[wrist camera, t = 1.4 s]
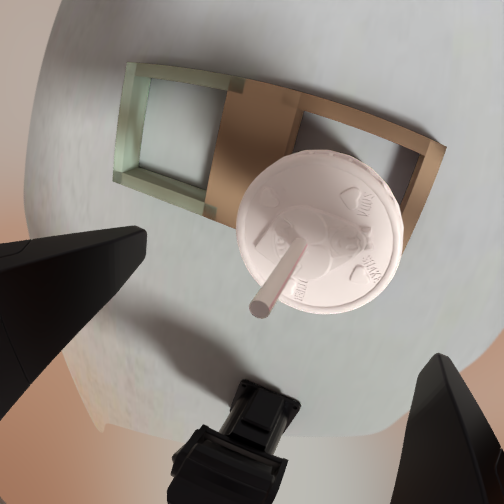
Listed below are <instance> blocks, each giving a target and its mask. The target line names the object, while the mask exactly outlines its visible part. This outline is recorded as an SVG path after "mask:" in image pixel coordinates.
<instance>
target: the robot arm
mask: <svg viewBox="0 0 504 504" xmlns="http://www.w3.org/2000/svg"><path fill="white" fill-rule="evenodd" d="M146 246H147V232H146V231H145V230H144V229H142V228H140V227H138V226H126V227H118V228H110V229H102V230H94V231H87V232H79V233H72V234H65V235H58V236H51V237H44V238H37V239H33V240H31V239H30V240H24V241H17V242H10V243H2V244H0V421H1V419H2V418H3V417H4V416H5V414H6V413H7V412H8V411H9V410H10V408H11V407H12V406H13V405H14V404H15V402H16V401H17V400H18V399H19V398H20V397H21V395H22V394H23V393H24V392H25V391H26V390H27V388H28V387H29V386H30V384H32V382H33V381H34V380H35V379H36V378H37V377H38V376H39V375H40V374H41V372H42V371H43V370H44V369H45V368H46V367H47V365H49V364H50V362H51V361H52V360H53V359H54V358H55V357H56V356H57V355H58V354H59V353H60V352H61V350H62V349H63V348H64V347H65V346H66V345H67V344H68V343H69V342H70V341H71V340H72V339H73V338H74V337H75V335H76V334H77V333H78V332H79V331H80V330H81V329H82V328H83V327H84V326H85V325H86V324H87V323H88V322H89V321H90V320H91V319H92V318H93V317H94V316H95V315H96V314H97V313H98V312H99V311H100V310H101V309H102V308H103V306H104V305H105V304H106V303H107V302H108V301H109V300H110V299H111V298H112V297H113V296H114V295H115V294H116V293H117V292H118V291H119V290H120V288H121V287H122V286H123V285H124V283H125V282H126V281H127V280H128V279H129V277H130V276H131V275H132V274H133V272H134V271H135V270H136V269H137V268H138V266H139V265H140V264H141V263H142V262H143V260H144V258H145V256H146ZM300 407H301V404H300V403H298V402H296V401H293V400H291V399H288V398H286V397H284V396H281V395H279V394H277V393H274V392H272V391H270V390H267V389H265V388H263V387H261V386H258V385H256V384H254V383H252V382H249V381H247V380H241V382H240V384H239V386H238V389H237V392H236V395H235V397H234V400H233V403H232V406H231V408H230V414H229V416H228V417H227V419H226V421H225V422H224V424H223V426H222V427H221V429H220V431H219V432H217V431H215V430H213V429H211V428H209V427H208V426H206V425H204V424H203V425H202V427H201V428H200V429H197V430H195V432H194V433H193V435H192V436H191V438H190V439H189V440H188V442H187V443H186V444H185V445H184V446H182V447H181V448H180V449H179V450H178V451H177V452H176V453H175V454H174V455H173V456H172V461H173V467H172V471H171V476H173V477H174V479H173V480H172V482H171V484H170V485H169V487H168V490H167V502H168V504H272V503H273V501H274V499H275V497H276V494H277V492H278V490H279V486H280V484H281V481H282V478H283V475H284V472H285V469H286V466H287V463H288V460H287V459H285V458H283V459H282V458H279V457H276V456H274V455H273V454H274V452H275V450H276V447H277V445H278V443H279V440H280V438H281V436H282V434H283V433H284V432H285V430H286V429H287V427H288V426H289V425H290V423H291V422H292V420H293V419H294V417H295V416H296V414H297V413H298V411H299V410H300ZM500 448H501V446H500V444H499V442H498V440H497V438H496V436H495V434H494V432H493V430H492V429H491V427H490V425H489V423H488V421H487V420H486V418H485V416H484V414H483V412H482V411H481V409H480V407H479V405H478V404H477V402H476V400H475V399H474V397H473V395H472V393H471V392H470V390H469V388H468V387H467V385H466V383H465V382H464V380H463V379H462V377H461V375H460V374H459V372H458V370H457V369H456V367H455V366H454V364H453V363H452V361H451V359H450V358H449V357H448V356H445V355H443V354H440V353H436V354H435V355H434V356H433V357H432V358H431V359H430V360H429V362H428V363H427V364H426V365H425V367H424V368H423V369H422V370H421V372H420V373H419V375H418V378H417V383H416V387H415V392H414V396H413V400H412V405H411V409H410V413H409V417H408V421H407V426H406V431H405V437H404V443H403V448H402V454H401V459H400V465H399V469H398V474H397V478H396V482H395V487H394V491H393V495H392V499H391V502H390V504H504V451H503V449H500ZM0 504H6V503H5V502H4V501H3V500H2V499H1V497H0Z"/></svg>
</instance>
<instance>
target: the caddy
mask: <svg viewBox="0 0 504 504" xmlns="http://www.w3.org/2000/svg"><path fill="white" fill-rule="evenodd" d="M151 78H156V79H164V80H170V81H177V82H183V83H189V84H195V85H200V86H206V87H211V88H216V89H221V90H226V91H227V96H226V100H225V104H224V109H223V113H222V118H221V122H220V127H219V132H218V137H217V141H216V146H215V151H214V156H213V161H212V166H211V171H210V176H209V181H208V187H207V191H206V190H203V189H200V188H197V187H194V186H191V185H189V184H186V183H183V182H180V181H177V180H174V179H171V178H169V177H166V176H163V175H160V174H157V173H154V172H151V171H148V170H145V169H142V168H139V167H138V165H139V156H140V148H141V140H142V133H143V125H144V119H145V112H146V106H147V100H148V94H149V88H150V82H151ZM304 111H307V112H310V113H314V114H317V115H320V116H323V117H326V118H329V119H332V120H335V121H338V122H341V123H344V124H347V125H350V126H353V127H355V128H358V129H361V130H364V131H366V132H369V133H371V134H374V135H377V136H379V137H382V138H384V139H387V140H389V141H392V142H394V143H397V144H399V145H401V146H404V147H406V148H408V149H411V150H413V151H415V152H418V153H420V155H419V158H418V161H417V164H416V166H415V169H414V172H413V174H412V177H411V180H410V182H409V185H408V187H407V190H406V192H405V195H404V198H403V200H402V202H401V205H400V212H401V216H402V221H403V226H404V231H403V247H402V253H403V251H404V249H405V247H406V245H407V243H408V241H409V239H410V237H411V234H412V232H413V230H414V228H415V226H416V223H417V221H418V219H419V217H420V214H421V212H422V210H423V207H424V205H425V203H426V200H427V198H428V195H429V193H430V190H431V188H432V185H433V183H434V180H435V178H436V175H437V173H438V170H439V167H440V165H441V162H442V159H443V156H444V154H445V151H446V148H447V147H446V146H444V145H442V144H440V143H438V142H436V141H434V140H432V139H429V138H427V137H425V136H423V135H420V134H418V133H416V132H414V131H411V130H409V129H407V128H404V127H402V126H399V125H397V124H394V123H392V122H389V121H387V120H384V119H382V118H379V117H377V116H374V115H371V114H369V113H366V112H363V111H360V110H357V109H354V108H352V107H349V106H346V105H343V104H340V103H337V102H333V101H330V100H327V99H324V98H321V97H317V96H314V95H310V94H307V93H303V92H300V91H296V90H293V89H289V88H285V87H281V86H277V85H273V84H269V83H265V82H260V81H256V80H251V79H247V78H242V77H237V76H232V75H226V74H221V73H215V72H209V71H203V70H197V69H190V68H183V67H175V66H167V65H158V64H147V63H134V62H127V66H126V71H125V77H124V83H123V89H122V95H121V102H120V109H119V117H118V125H117V134H116V144H115V154H114V167H113V182H116V183H119V184H121V185H124V186H126V187H129V188H132V189H134V190H137V191H139V192H142V193H145V194H147V195H150V196H152V197H155V198H158V199H160V200H163V201H165V202H168V203H170V204H173V205H176V206H178V207H181V208H183V209H186V210H188V211H191V212H194V213H196V214H199V215H201V216H204V217H206V218H209V219H211V220H214V221H216V222H219V223H221V224H224V225H227V226H229V227H232V228H234V229H236V221H237V214H238V209H239V206H240V203H241V200H242V198H243V196H244V194H245V192H246V190H247V189H248V187H249V186H250V184H251V183H252V182H253V181H254V179H255V178H256V177H257V176H258V175H259V174H260V173H261V172H263V171H264V170H265V169H266V168H267V167H269V166H270V165H272V164H273V163H275V162H276V161H278V160H279V159H281V158H283V157H284V156H287V155H291V154H292V152H293V148H294V145H295V141H296V138H297V134H298V131H299V127H300V123H301V120H302V116H303V113H304ZM401 256H402V254H401Z"/></svg>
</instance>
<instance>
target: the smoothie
mask: <svg viewBox="0 0 504 504" xmlns="http://www.w3.org/2000/svg"><path fill="white" fill-rule="evenodd" d="M403 231H404V226H403V221H402V216H401V212H400V207H399V204H398V202H397V200H396V199H395V197H394V195H393V193H392V191H391V189H390V188H389V186H388V184H387V183H386V182H385V181H384V180H383V179H382V178H381V177H380V176H379V175H378V174H377V173H376V172H375V171H374V170H373V169H372V168H371V167H369V166H368V165H366V164H364V163H363V162H361V161H359V160H358V159H356V158H354V157H352V156H350V155H346V154H343V153H339V152H335V151H331V150H304V151H300V152H297V153H294V154H291V155H287V156H284V157H283V158H281V159H279V160H278V161H276V162H275V163H273V164H272V165H270V166H269V167H267V168H266V169H265V170H264V171H263V172H261V173H260V174H259V175H258V176H257V177H256V178H255V179H254V181H253V182H252V183H251V184H250V186H249V187H248V189H247V190H246V192H245V194H244V196H243V198H242V200H241V203H240V206H239V209H238V214H237V221H236V235H237V242H238V247H239V250H240V254H241V256H242V259H243V261H244V263H245V265H246V267H247V269H248V270H249V272H250V274H251V275H252V276H253V278H254V279H255V280H256V281H257V283H258V284H259V285H260V286H261V289H260V290H259V291H258V293H257V294H256V296H255V297H254V299H253V300H252V301H251V303H250V305H249V310H250V312H251V313H252V315H254V316H255V317H257V318H261V319H263V318H266V317H268V315H269V314H270V312H271V311H272V309H273V307H274V305H275V304H276V302H277V300H279V301H280V302H282V303H284V304H286V305H288V306H290V307H293V308H295V309H298V310H301V311H305V312H309V313H316V314H337V313H343V312H347V311H351V310H354V309H356V308H359V307H361V306H363V305H365V304H367V303H368V302H370V301H371V300H373V299H374V298H375V297H377V296H378V295H379V294H380V293H381V292H382V291H383V290H384V289H385V288H386V287H387V285H388V284H389V283H390V281H391V280H392V278H393V276H394V275H395V273H396V270H397V268H398V265H399V262H400V259H401V254H402V247H403Z"/></svg>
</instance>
